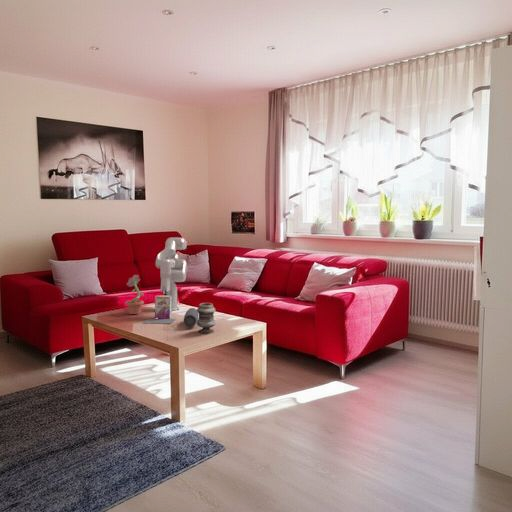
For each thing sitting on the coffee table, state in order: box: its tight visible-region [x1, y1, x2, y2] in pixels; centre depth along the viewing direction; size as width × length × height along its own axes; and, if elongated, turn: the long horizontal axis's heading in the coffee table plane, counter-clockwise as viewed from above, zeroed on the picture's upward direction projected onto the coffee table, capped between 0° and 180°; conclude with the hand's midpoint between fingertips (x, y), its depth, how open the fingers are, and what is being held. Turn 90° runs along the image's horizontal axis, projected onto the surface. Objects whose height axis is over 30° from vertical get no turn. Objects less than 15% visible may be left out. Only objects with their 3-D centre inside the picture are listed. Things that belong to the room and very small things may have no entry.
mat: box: [142, 317, 177, 325], centre depth 319 cm, size 14×20×1 cm
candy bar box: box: [154, 294, 173, 319], centre depth 328 cm, size 11×5×16 cm, turn 84°
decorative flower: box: [124, 274, 145, 315], centre depth 341 cm, size 15×14×30 cm
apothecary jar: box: [196, 302, 216, 334], centre depth 291 cm, size 12×12×18 cm
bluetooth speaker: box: [183, 307, 199, 328], centre depth 309 cm, size 23×9×10 cm, turn 4°
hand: (165, 300), depth 335 cm, fingers closed
